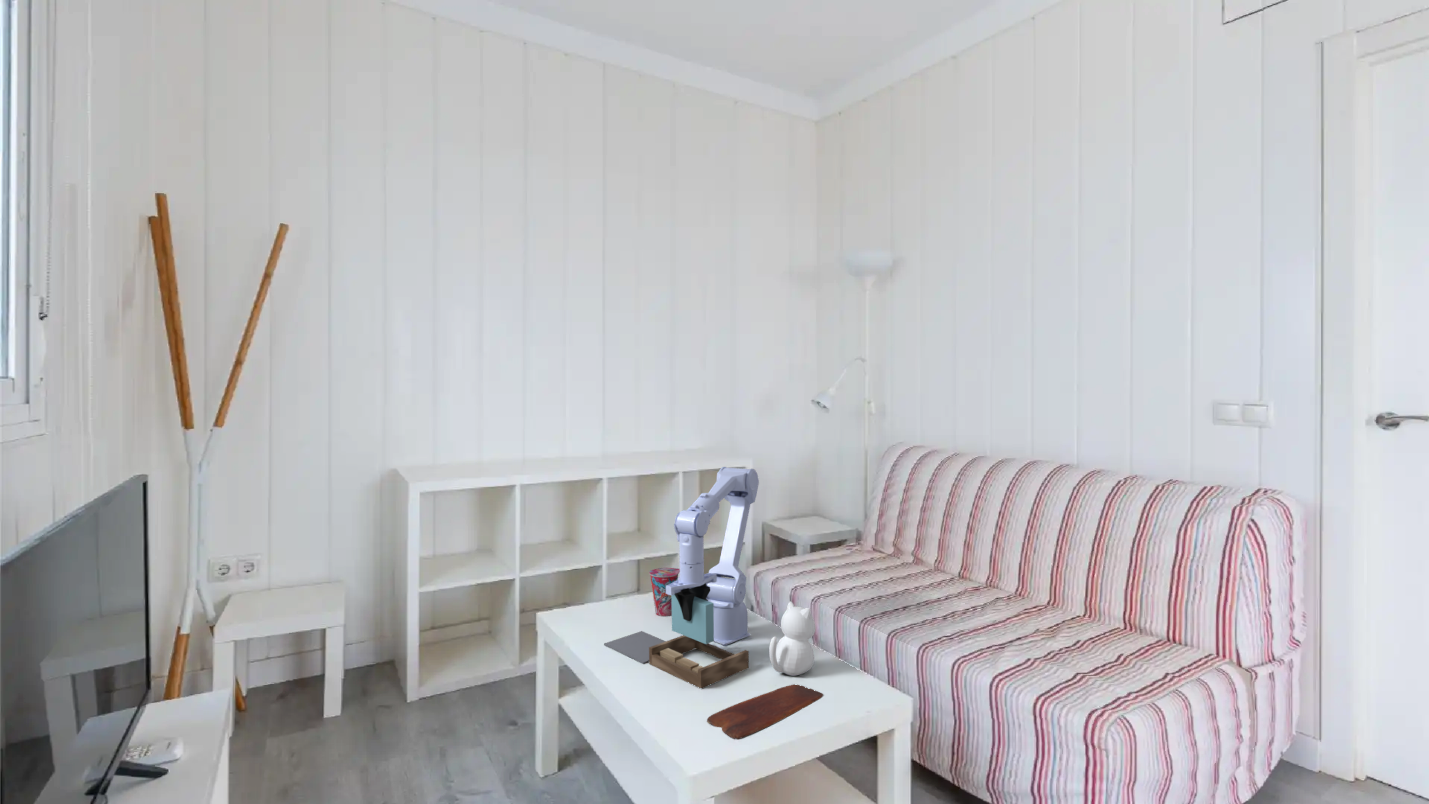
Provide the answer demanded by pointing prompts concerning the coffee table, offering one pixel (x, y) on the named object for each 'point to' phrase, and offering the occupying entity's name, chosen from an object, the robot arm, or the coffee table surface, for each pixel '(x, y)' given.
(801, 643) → the cat figurine
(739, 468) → the robot arm
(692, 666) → the offcuts
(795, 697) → the wooden tablet
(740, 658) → the rack
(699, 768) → the coffee table surface
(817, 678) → the coffee table surface
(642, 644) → the mat
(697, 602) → the teal rectangular block
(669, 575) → the cup
